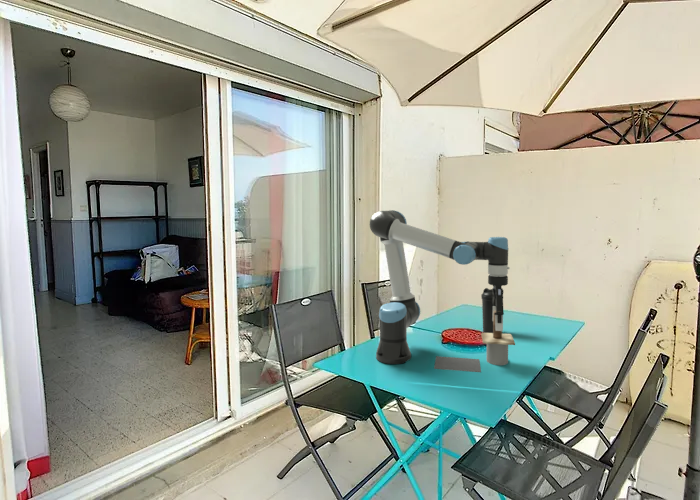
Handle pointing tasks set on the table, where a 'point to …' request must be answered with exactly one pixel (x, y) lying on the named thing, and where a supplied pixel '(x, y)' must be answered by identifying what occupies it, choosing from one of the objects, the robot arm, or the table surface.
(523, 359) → the table surface
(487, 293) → the water bottle
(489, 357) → the cup
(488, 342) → the lid
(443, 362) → the mat
